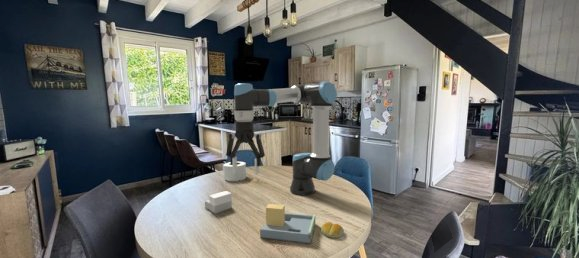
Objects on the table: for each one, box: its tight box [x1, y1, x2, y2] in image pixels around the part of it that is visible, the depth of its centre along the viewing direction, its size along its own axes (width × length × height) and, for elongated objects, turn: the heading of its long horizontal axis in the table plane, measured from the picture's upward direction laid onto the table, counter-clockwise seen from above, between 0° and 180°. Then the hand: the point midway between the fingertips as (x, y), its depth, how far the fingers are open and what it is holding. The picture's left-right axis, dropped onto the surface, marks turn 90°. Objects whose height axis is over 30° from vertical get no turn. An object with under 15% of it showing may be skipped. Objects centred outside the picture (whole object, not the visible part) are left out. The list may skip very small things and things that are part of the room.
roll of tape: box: [223, 161, 247, 182], centre depth 175 cm, size 16×15×11 cm
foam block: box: [204, 190, 233, 214], centre depth 125 cm, size 10×10×8 cm
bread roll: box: [320, 221, 345, 239], centre depth 100 cm, size 8×9×4 cm
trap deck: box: [259, 212, 316, 245], centre depth 102 cm, size 20×16×4 cm
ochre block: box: [265, 203, 286, 227], centre depth 103 cm, size 7×4×8 cm, turn 77°
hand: (245, 172), depth 105 cm, fingers open, 9 cm apart
